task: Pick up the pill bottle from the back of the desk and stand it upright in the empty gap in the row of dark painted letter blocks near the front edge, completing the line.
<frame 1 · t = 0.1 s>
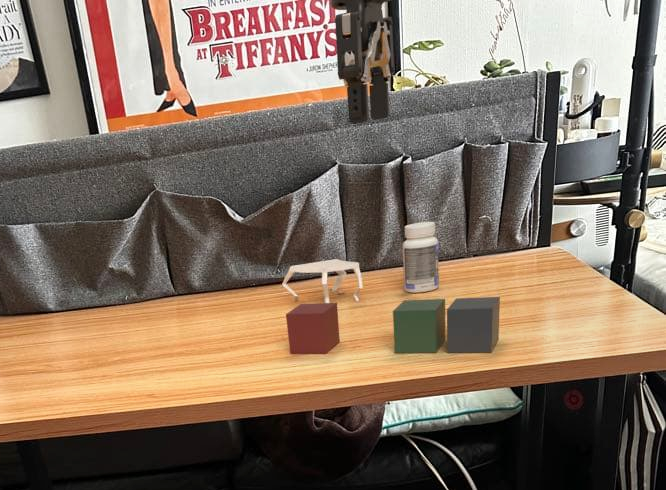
hand: (370, 120, 87), 21 cm above the table, tool pointing down, fingers open, 8 cm apart
white legged frame: (323, 301, 103), on the table
pill bottle: (421, 290, 100), on the table
maroon block: (315, 347, 82), on the table
slate block: (473, 346, 74), on the table
green block: (420, 346, 77), on the table
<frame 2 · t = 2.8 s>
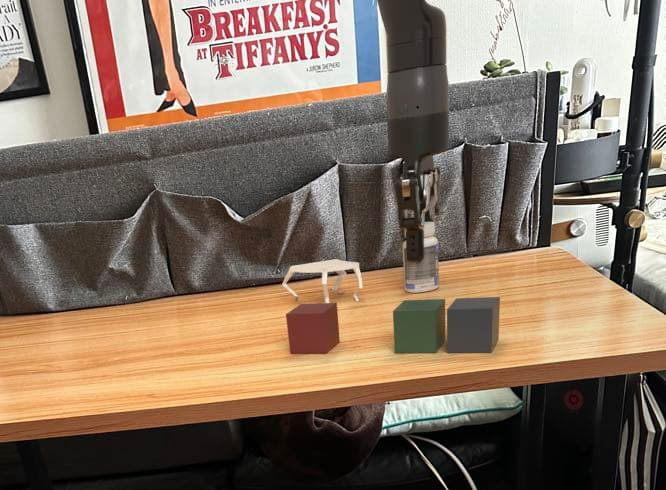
hand: (420, 256, 98), 4 cm above the table, tool pointing down, fingers closed on pill bottle, 4 cm apart
pill bottle: (421, 290, 100), on the table, touching gripper
everything else where it was.
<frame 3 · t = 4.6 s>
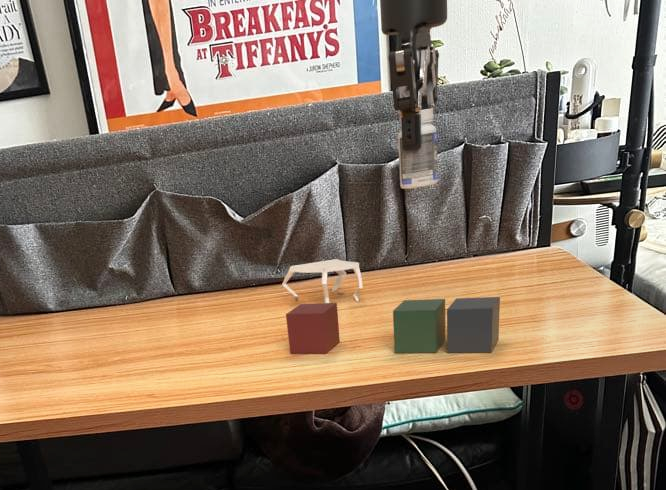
hand: (417, 147, 90), 18 cm above the table, tool pointing down, fingers closed on pill bottle, 4 cm apart
pill bottle: (419, 187, 92), point 13 cm above the table, touching gripper
everything else where it was.
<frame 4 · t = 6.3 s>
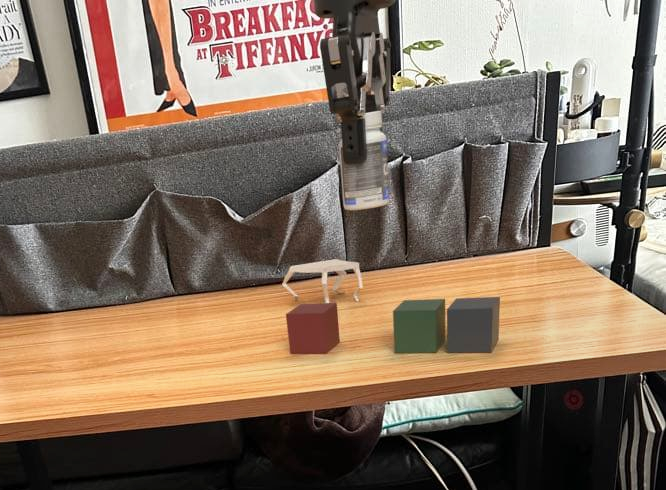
hand: (364, 159, 73), 18 cm above the table, tool pointing down, fingers closed on pill bottle, 4 cm apart
pill bottle: (366, 208, 75), point 14 cm above the table, touching gripper
everything else where it was.
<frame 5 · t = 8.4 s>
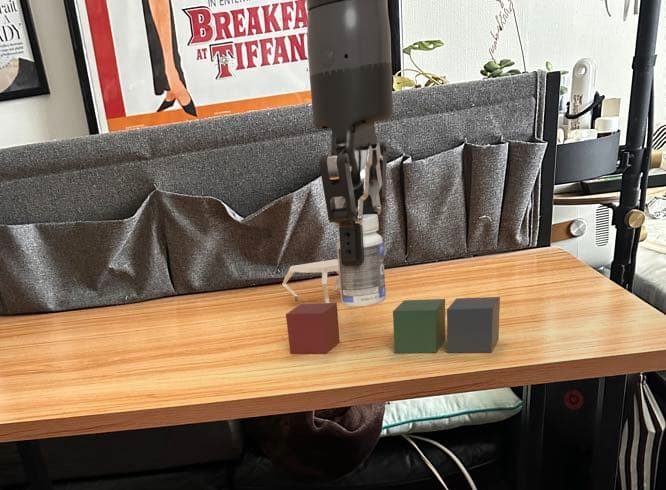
hand: (361, 259, 75), 9 cm above the table, tool pointing down, fingers closed on pill bottle, 4 cm apart
pill bottle: (363, 304, 77), point 5 cm above the table, touching gripper
everything else where it was.
when the fingers open (4 cm above the table, at t = 10.0 s): pill bottle stays where it is, on the table.
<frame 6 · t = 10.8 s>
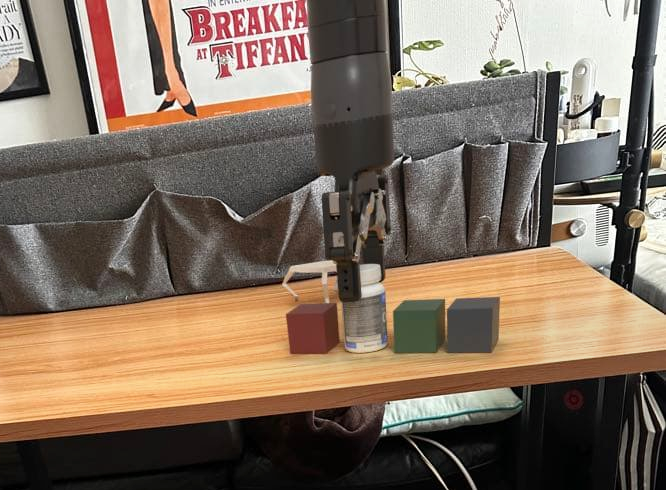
hand: (363, 291, 76), 6 cm above the table, tool pointing down, fingers open, 8 cm apart
pill bottle: (366, 349, 79), on the table
everything else where it was.
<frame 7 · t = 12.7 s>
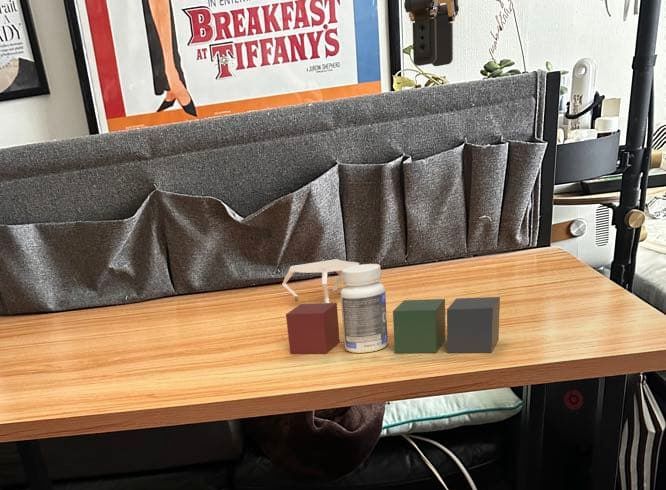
hand: (434, 64, 77), 26 cm above the table, tool pointing down, fingers open, 8 cm apart
nothing on the table moved.
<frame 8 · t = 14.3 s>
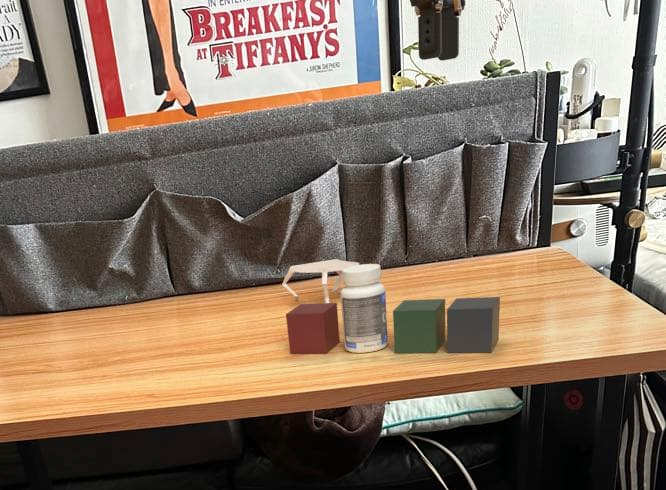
hand: (439, 59, 77), 26 cm above the table, tool pointing down, fingers open, 8 cm apart
nothing on the table moved.
at the end: pill bottle 0.0 cm from the target spot on the table beside the green block, on the table; pill bottle tilted 0°; the gripper is holding nothing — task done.
